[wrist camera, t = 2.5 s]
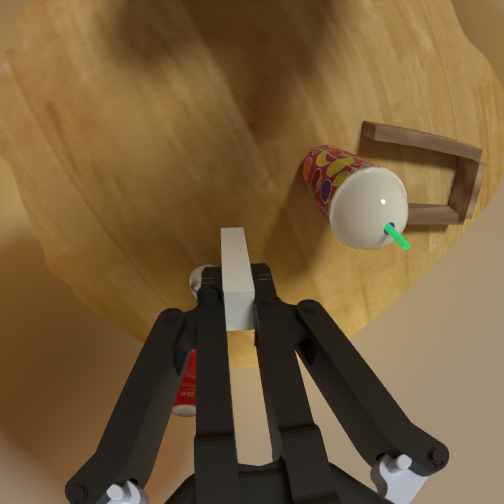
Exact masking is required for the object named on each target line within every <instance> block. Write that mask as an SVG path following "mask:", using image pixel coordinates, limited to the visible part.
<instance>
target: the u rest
mask: <svg viewBox="0 0 504 504" xmlns="http://www.w3.org/2000/svg"><path fill="white" fill-rule="evenodd" d="M362 135H363V136H366V137H368V138H370V139H373V140H377V141H384V142H391V143H397V144H403V145H409V146H415V147H420V148H426V149H431V150H436V151H440V152H445V153H449V154H454V155H458V156H459V161H458V166H457V171H456V175H455V180H454V184H453V188H452V192H451V196H450V200H449V204H448V205H432V204H412V203H408V219H407V223H406V225H418V224H444V225H463V224H464V221H465V218H469V219H472V216H473V212H474V209H475V206H476V202H477V199H478V195H479V191H480V187H481V183H482V179H483V175H484V170H485V166H486V164H484V163H482V162H480V158H481V153H482V150H481V149H478V148H476V147H474V146H472V145H469V144H466V143H463V142H460V141H456V140H453V139H449V138H445V137H442V136H438V135H434V134H430V133H425V132H421V131H417V130H412V129H407V128H402V127H397V126H392V125H386V124H380V123H374V122H367V121H363V130H362Z"/></svg>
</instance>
